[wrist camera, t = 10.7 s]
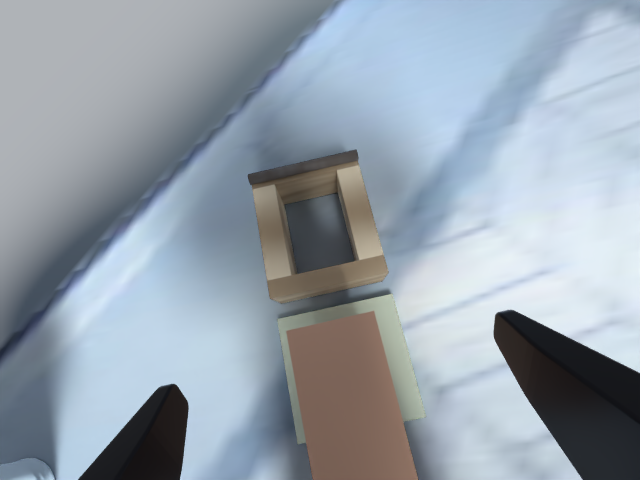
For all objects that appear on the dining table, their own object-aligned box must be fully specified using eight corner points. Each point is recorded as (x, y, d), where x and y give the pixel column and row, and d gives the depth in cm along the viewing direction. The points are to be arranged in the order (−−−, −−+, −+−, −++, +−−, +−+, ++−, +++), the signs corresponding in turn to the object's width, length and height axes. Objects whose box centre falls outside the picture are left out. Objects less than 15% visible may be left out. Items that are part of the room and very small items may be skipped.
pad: (424, 415, 20) (426, 417, 19) (298, 442, 20) (297, 444, 19) (391, 294, 22) (392, 293, 21) (278, 319, 22) (277, 319, 21)
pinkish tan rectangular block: (380, 402, 20) (419, 485, 9) (333, 412, 20) (317, 507, 9) (360, 320, 21) (374, 310, 10) (316, 331, 21) (286, 331, 11)
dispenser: (382, 281, 22) (390, 270, 18) (281, 303, 22) (267, 297, 18) (353, 175, 24) (355, 144, 20) (263, 196, 25) (246, 169, 21)
